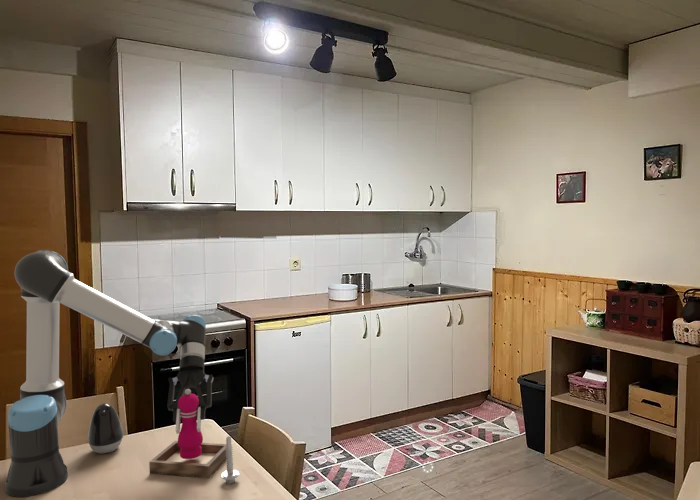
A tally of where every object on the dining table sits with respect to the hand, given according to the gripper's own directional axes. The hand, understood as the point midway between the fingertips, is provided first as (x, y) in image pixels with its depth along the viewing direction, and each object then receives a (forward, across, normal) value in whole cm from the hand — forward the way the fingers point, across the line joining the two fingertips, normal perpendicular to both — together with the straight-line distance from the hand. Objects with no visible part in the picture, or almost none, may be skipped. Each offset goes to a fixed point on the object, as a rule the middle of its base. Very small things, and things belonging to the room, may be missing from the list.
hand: (188, 430), depth 155 cm
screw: (+15, -12, -2) cm, 19 cm away
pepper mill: (+4, 0, -9) cm, 10 cm away
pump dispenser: (-6, +28, -22) cm, 36 cm away
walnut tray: (+6, 0, -11) cm, 12 cm away
